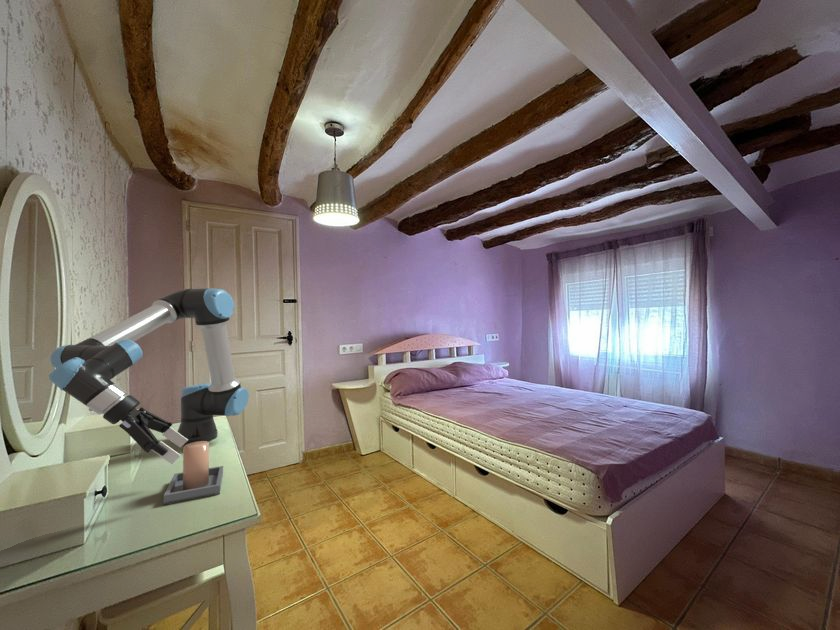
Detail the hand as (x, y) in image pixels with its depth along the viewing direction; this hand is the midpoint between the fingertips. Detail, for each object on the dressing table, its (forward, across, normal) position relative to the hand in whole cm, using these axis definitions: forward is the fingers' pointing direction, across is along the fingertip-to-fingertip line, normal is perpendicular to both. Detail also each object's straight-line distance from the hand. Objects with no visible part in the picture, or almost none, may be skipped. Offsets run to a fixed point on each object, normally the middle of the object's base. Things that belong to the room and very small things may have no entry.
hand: (180, 451), depth 97 cm
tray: (+11, 0, -5) cm, 12 cm away
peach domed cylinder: (+10, -1, -5) cm, 12 cm away
